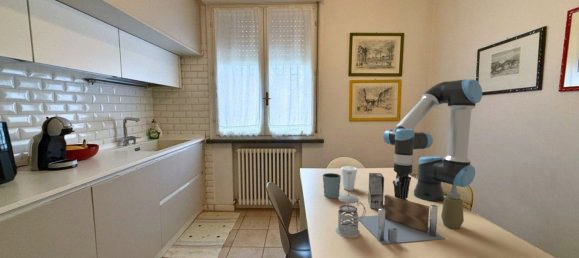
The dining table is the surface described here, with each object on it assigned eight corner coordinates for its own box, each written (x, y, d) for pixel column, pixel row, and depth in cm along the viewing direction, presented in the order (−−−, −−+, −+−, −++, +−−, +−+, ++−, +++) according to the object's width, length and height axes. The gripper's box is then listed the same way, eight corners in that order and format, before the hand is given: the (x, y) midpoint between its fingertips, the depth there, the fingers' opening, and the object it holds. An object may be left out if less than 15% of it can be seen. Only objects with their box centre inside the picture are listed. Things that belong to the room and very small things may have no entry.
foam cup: (357, 191, 150) (358, 170, 149) (342, 190, 150) (343, 169, 149) (354, 186, 159) (354, 166, 158) (339, 186, 159) (340, 166, 158)
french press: (333, 225, 105) (334, 167, 103) (361, 226, 105) (362, 168, 103) (337, 237, 95) (338, 174, 93) (367, 238, 95) (369, 174, 93)
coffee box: (383, 209, 122) (384, 177, 121) (369, 208, 123) (370, 176, 122) (380, 202, 131) (381, 173, 130) (367, 201, 132) (368, 172, 131)
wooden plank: (428, 231, 99) (429, 206, 98) (426, 232, 98) (428, 207, 97) (385, 216, 112) (386, 194, 112) (383, 217, 111) (384, 195, 110)
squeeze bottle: (436, 223, 107) (438, 183, 106) (448, 220, 110) (450, 181, 109) (455, 232, 100) (457, 189, 98) (467, 228, 103) (470, 186, 101)
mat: (407, 213, 117) (407, 213, 117) (445, 239, 94) (445, 238, 94) (355, 217, 113) (356, 216, 113) (382, 244, 90) (382, 243, 90)
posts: (433, 233, 98) (434, 204, 97) (440, 238, 94) (442, 208, 94) (376, 238, 94) (377, 208, 93) (381, 243, 91) (382, 212, 90)
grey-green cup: (344, 196, 140) (344, 176, 139) (331, 200, 134) (331, 178, 133) (331, 191, 148) (331, 172, 147) (318, 194, 142) (319, 174, 142)
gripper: (401, 160, 116) (399, 208, 118) (387, 163, 108) (385, 215, 110) (418, 162, 111) (415, 213, 113) (404, 167, 102) (402, 221, 104)
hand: (400, 214), depth 111 cm, fingers closed
